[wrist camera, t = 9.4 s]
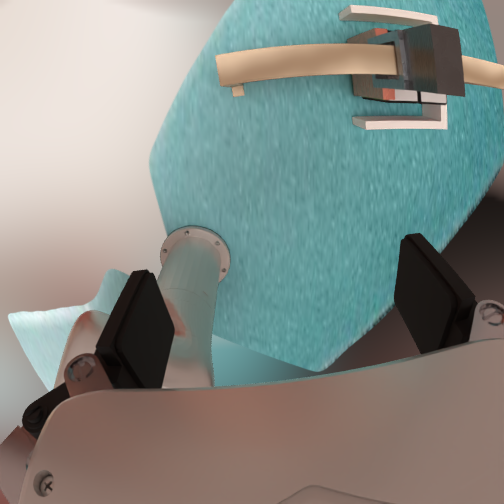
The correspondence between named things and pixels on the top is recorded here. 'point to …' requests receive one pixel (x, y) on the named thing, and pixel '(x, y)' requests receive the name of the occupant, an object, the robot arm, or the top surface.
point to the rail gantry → (331, 64)
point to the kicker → (415, 62)
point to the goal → (430, 113)
